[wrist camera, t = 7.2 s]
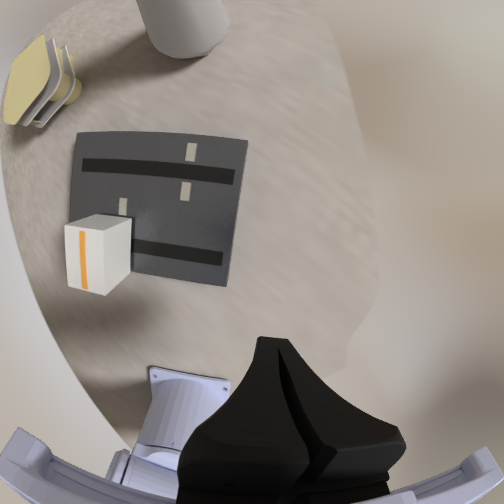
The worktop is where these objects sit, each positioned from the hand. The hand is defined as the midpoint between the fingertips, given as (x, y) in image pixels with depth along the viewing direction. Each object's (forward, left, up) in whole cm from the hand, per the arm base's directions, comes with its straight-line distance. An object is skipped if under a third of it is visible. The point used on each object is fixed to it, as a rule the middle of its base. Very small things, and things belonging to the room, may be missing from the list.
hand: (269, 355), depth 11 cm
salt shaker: (+18, +8, -10) cm, 22 cm away
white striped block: (+2, +11, -8) cm, 13 cm away
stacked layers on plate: (+14, +21, -10) cm, 27 cm away
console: (+5, +9, -10) cm, 14 cm away
